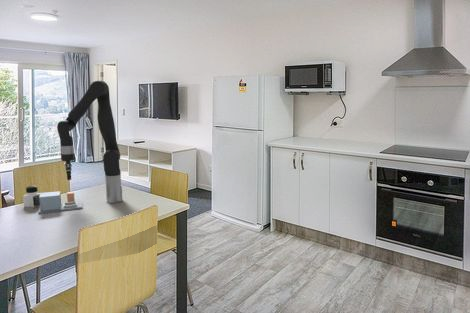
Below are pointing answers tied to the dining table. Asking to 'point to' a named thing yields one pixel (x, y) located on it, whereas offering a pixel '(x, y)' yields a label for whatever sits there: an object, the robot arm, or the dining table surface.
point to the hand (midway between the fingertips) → (69, 178)
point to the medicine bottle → (31, 197)
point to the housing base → (65, 207)
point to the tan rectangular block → (70, 197)
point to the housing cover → (50, 201)
